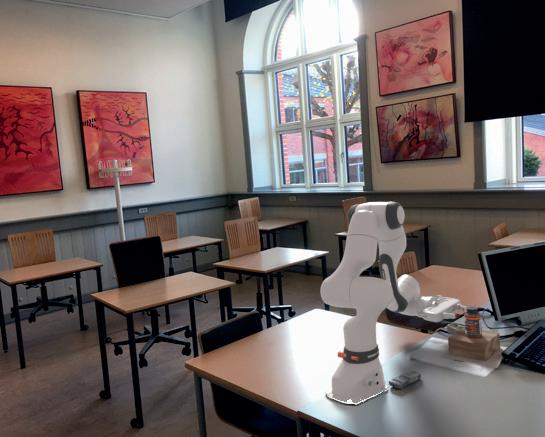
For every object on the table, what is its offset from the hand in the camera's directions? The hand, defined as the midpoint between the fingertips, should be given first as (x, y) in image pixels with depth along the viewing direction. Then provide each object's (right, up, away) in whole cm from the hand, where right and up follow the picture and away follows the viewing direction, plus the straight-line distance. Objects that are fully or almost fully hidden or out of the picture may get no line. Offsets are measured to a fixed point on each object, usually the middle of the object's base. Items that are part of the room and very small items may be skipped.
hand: (461, 312), depth 192 cm
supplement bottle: (+4, -9, -2) cm, 10 cm away
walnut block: (+5, -14, -1) cm, 15 cm away
